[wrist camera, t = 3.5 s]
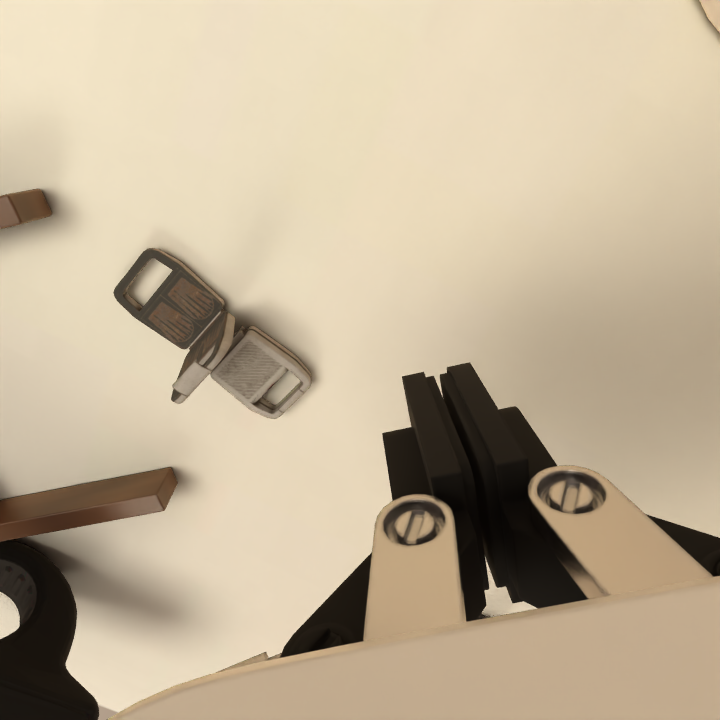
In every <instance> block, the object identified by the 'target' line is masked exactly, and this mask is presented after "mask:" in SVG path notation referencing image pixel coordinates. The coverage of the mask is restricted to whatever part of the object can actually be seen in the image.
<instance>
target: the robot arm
mask: <svg viewBox="0 0 720 720" xmlns="http://www.w3.org/2000/svg"><path fill="white" fill-rule="evenodd" d="M699 1H700V3H701V5H702V7H703V9H704V11H705V13H706V15H707V17H708V19H709V20H710V22H711V23H712V24H713V25H714V27H715V28H716V29H717V30H718V31H719V33H720V0H699ZM402 380H403V385H404V390H405V395H406V400H407V406H408V411H409V416H410V421H411V426H412V427H410V428H405V429H400V430H396V431H391V432H386V433H382V434H383V441H384V448H385V454H386V461H387V467H388V474H389V480H390V486H391V493H392V499H393V501H392V502H390V503H389V504H388V505H386V506H385V507H384V508H383V509H382V511H381V512H380V513H379V515H378V516H377V519H376V523H375V528H374V538H373V548H372V553H371V554H370V555H369V556H368V557H367V558H366V559H365V560H364V561H363V562H362V563H361V564H360V565H359V566H358V567H357V568H356V569H355V570H354V572H353V573H352V574H351V575H350V576H349V577H348V578H347V579H346V580H345V581H344V582H343V583H342V584H341V585H340V586H339V587H338V588H337V589H336V590H335V591H334V592H333V594H332V595H331V596H330V597H329V598H328V599H327V600H326V601H325V602H324V603H323V604H322V605H321V606H320V607H319V608H318V609H317V610H316V611H315V612H314V613H313V614H312V616H311V617H310V618H309V619H308V620H307V621H306V622H305V623H304V624H303V625H302V626H301V627H300V628H299V629H298V630H297V631H296V632H295V633H294V634H293V636H292V637H291V638H290V640H289V641H288V642H287V644H286V645H285V647H284V649H283V651H282V653H280V654H278V655H275V656H273V657H270V658H268V655H267V653H266V652H264V653H262V654H259V655H257V656H254V657H252V658H250V659H247V660H245V661H242V662H240V663H238V664H235V665H233V666H230V667H228V668H225V669H223V670H221V671H218V672H216V673H213V674H209V675H206V676H203V677H200V678H197V679H194V680H191V681H188V682H185V683H182V684H179V685H175V686H173V687H171V688H168V689H166V690H164V691H161V692H159V693H157V694H155V695H152V696H150V697H148V698H145V699H143V700H141V701H139V702H137V703H135V704H133V705H131V706H130V707H128V708H126V709H124V710H123V711H121V712H119V713H117V714H116V715H114V716H112V717H110V718H109V719H107V720H720V538H718V537H715V536H712V535H709V534H706V533H702V532H699V531H696V530H693V529H690V528H687V527H684V526H681V525H677V524H674V523H671V522H668V521H665V520H662V519H659V518H656V517H652V516H649V515H646V514H645V513H644V512H643V511H641V510H640V509H639V508H638V507H637V506H636V505H635V504H634V503H633V502H632V501H631V500H629V499H628V498H627V497H626V496H625V495H624V494H623V493H622V492H621V491H620V490H618V489H617V488H616V487H615V486H614V485H613V484H612V483H611V482H610V481H609V480H608V479H606V478H605V477H603V476H602V475H600V474H599V473H597V472H595V471H592V470H590V469H587V468H583V467H578V466H557V464H556V463H555V462H554V460H553V459H552V457H551V456H550V454H549V453H548V451H547V450H546V448H545V447H544V445H543V444H542V442H541V441H540V440H539V438H538V437H537V435H536V434H535V432H534V431H533V429H532V428H531V426H530V425H529V423H528V422H527V420H526V419H525V418H524V416H523V415H522V413H521V412H520V410H519V409H518V408H517V407H515V406H514V407H509V408H504V409H499V410H498V408H497V406H496V405H495V403H494V401H493V400H492V398H491V396H490V395H489V393H488V392H487V390H486V388H485V387H484V385H483V383H482V382H481V380H480V378H479V377H478V375H477V373H476V372H475V370H474V368H473V367H472V365H471V364H470V362H469V363H465V364H460V365H455V366H450V367H447V373H445V374H440V381H441V388H442V394H443V397H442V395H441V393H440V390H439V388H438V385H437V383H436V380H435V378H434V376H430V377H426V376H425V374H424V372H421V373H416V374H412V375H407V376H402ZM485 557H486V560H487V562H488V565H489V568H490V571H491V573H492V576H493V579H494V582H495V584H496V586H497V588H499V587H504V586H506V587H507V590H508V593H509V595H510V598H511V601H512V603H517V602H522V601H525V602H527V603H529V604H531V605H533V606H535V607H536V608H538V609H534V610H528V611H523V612H517V613H512V614H506V615H501V616H496V617H490V618H485V619H479V620H477V618H478V617H479V615H480V614H481V612H482V611H483V609H484V608H485V606H486V599H485V592H484V590H488V589H489V582H488V575H487V568H486V561H485Z"/></svg>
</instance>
